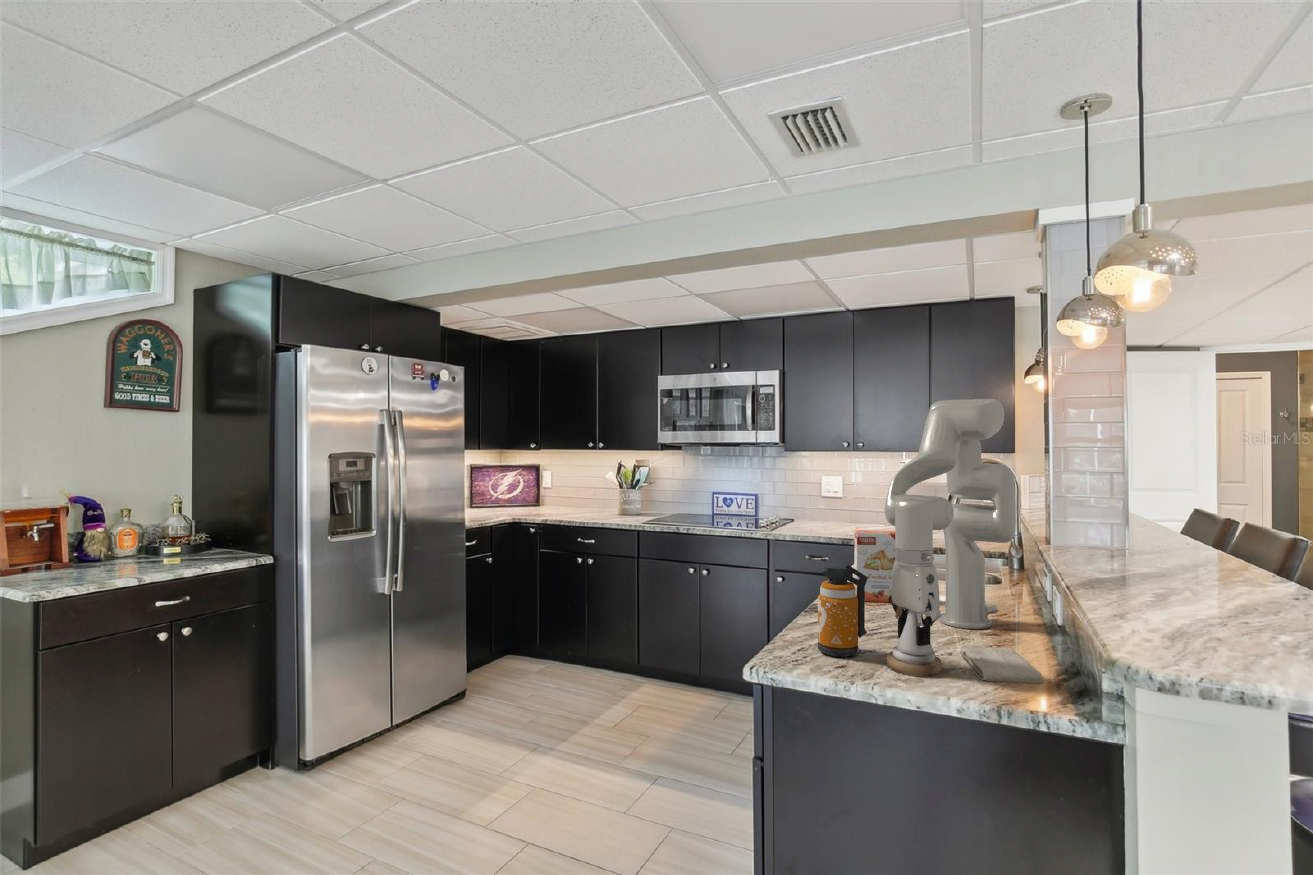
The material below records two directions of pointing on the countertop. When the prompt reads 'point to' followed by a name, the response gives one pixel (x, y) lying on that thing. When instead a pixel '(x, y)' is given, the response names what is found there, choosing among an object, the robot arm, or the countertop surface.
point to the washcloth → (999, 665)
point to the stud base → (914, 664)
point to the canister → (841, 611)
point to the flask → (912, 638)
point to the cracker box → (875, 562)
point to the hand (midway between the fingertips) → (913, 640)
